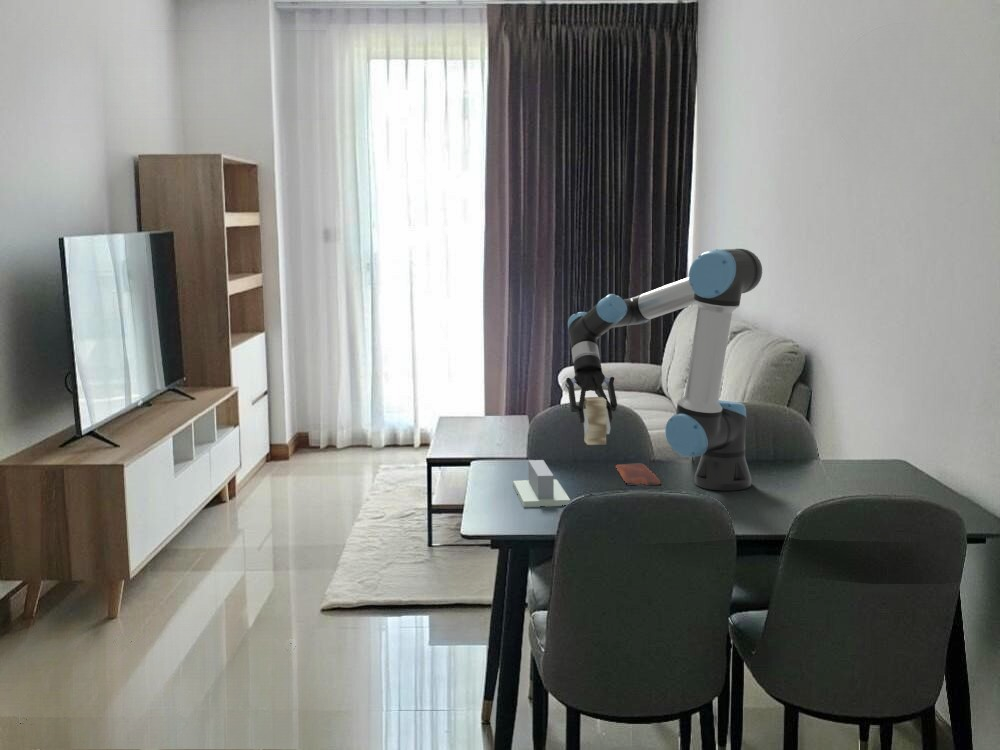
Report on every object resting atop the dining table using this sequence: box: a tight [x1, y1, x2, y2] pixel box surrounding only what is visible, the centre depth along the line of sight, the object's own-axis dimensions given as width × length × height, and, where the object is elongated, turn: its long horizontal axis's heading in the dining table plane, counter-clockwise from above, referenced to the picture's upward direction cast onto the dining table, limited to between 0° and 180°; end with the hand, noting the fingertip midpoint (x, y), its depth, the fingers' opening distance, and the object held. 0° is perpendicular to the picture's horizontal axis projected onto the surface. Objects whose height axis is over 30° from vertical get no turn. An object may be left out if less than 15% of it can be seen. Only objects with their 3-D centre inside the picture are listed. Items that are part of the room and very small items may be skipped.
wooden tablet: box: [615, 462, 662, 486], centre depth 312 cm, size 27×10×2 cm, turn 2°
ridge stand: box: [512, 459, 571, 508], centre depth 289 cm, size 22×12×8 cm, turn 6°
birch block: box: [583, 396, 607, 446], centre depth 294 cm, size 5×5×12 cm
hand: (597, 431), depth 291 cm, fingers closed on birch block, 5 cm apart
